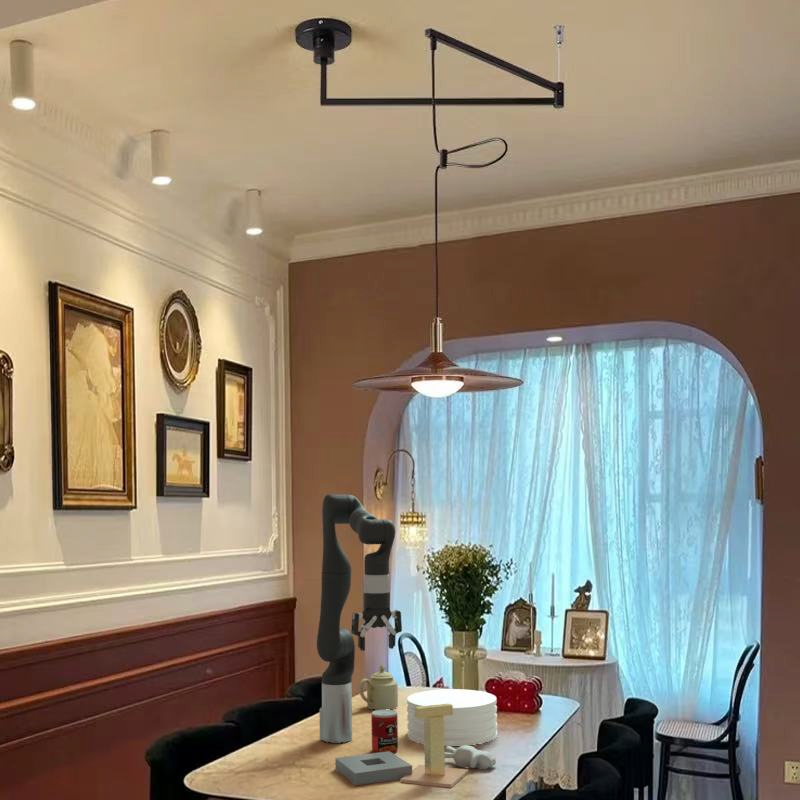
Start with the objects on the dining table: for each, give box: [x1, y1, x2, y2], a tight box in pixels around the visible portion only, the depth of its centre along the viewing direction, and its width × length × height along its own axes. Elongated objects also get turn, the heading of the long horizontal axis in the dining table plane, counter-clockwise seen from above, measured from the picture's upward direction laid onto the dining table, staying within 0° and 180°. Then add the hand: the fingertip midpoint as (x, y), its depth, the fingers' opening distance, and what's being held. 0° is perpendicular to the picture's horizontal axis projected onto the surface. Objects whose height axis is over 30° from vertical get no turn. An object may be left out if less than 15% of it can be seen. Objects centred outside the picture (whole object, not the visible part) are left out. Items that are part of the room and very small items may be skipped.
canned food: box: [371, 709, 399, 754], centre depth 272 cm, size 8×8×11 cm
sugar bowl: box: [358, 664, 399, 711], centre depth 329 cm, size 15×11×15 cm
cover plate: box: [334, 751, 413, 786], centre depth 249 cm, size 16×16×3 cm
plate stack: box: [406, 688, 498, 746], centre depth 289 cm, size 28×28×12 cm
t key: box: [415, 703, 453, 777], centre depth 245 cm, size 10×4×18 cm, turn 112°
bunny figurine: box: [444, 745, 497, 770], centre depth 255 cm, size 10×5×15 cm
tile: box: [400, 764, 469, 788], centre depth 244 cm, size 14×14×1 cm
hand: (376, 649), depth 259 cm, fingers open, 8 cm apart
